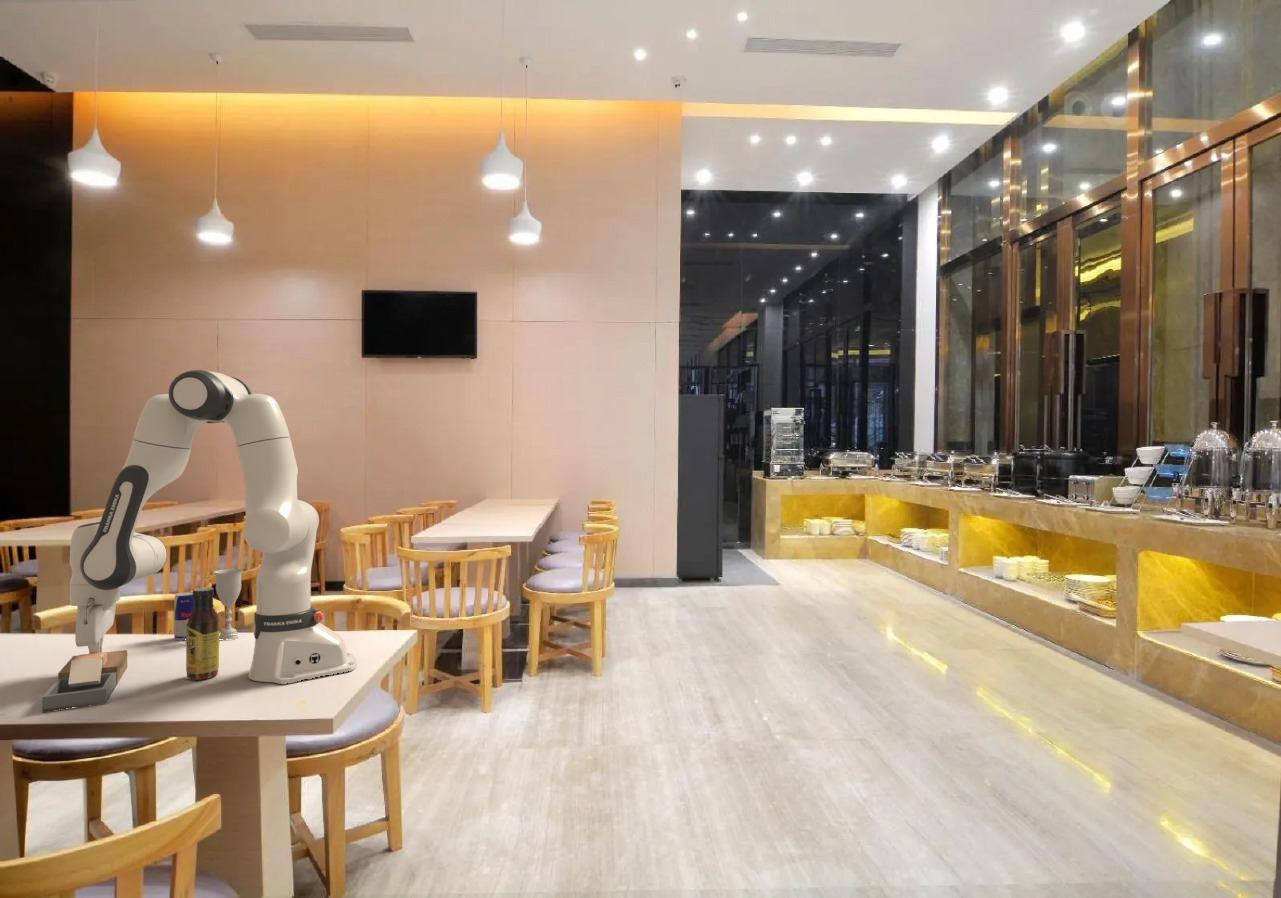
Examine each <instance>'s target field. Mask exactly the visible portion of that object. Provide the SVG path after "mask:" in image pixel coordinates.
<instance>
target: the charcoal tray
mask: <svg viewBox="0 0 1281 898" xmlns="http://www.w3.org/2000/svg"><path fill="white" fill-rule="evenodd" d="M68 682H69V678H64V679H58V678H57V679H56V680H55V682H53V684H52V685H51V686H50V687H49V688H48V689H47V691H46V692H45V693H44V694H43V695H42V697H41V712H42V711H50V712H55V711H54V710H58V711H62V710H61V709H65V710H67V709H66V708H72V707H79V708H85V707H84V706H86V707H90V706H89V705H93V706H98V705H97V704H101V705H106V704H107V703H108V701H109V699H110V698H111V697H112V694H113V692H114V691H115V689H116V687H117V685H116V672H113V673H105V674H101V679H100V684H94V685H86V686H78V687H70V686H69V685H68ZM105 703H106V704H105ZM59 709H60V710H59ZM72 709H73V708H72Z"/></svg>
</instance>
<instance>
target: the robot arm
mask: <svg viewBox="0 0 1281 898" xmlns="http://www.w3.org/2000/svg"><path fill="white" fill-rule="evenodd" d="M285 419H286V418H285V416H284V413H283V412H282V410H281V407H280V405H279V402H277V400H276V399H275V398H274V397H273V396H271V395H269V394H268V395H267V394H264V393H252V391H251V389H250V387H248V385H247V384H246V383H244V381H242V380H241V379H239V378H237V377H234V376H228V375H226V374H223V373H222V372H217V371H210V370H209V371H207V370H203V369H194V370H189V371H188V370H187V371H185V372H183V373H181V374H178V375H177V376H176V377H175V378H174V379H173V380H172V381H171V383H170V385H169V388H168V393H161V394H156V395H154V396H152V397H150V398H149V399H148V400H147V401H146V402H145V405H144V406H143V408H142V411H141V413H140V416H139V418H138V421H137V424H136V427H135V429H134V433H133V437H132V441H131V445H130V448H129V452H128V455H127V457H126V460H125V463H124V465H123V466H122V468H121V470H120V472H119V473H118V476H117V477H116V479H115V481H114V483H113V486H112V488H111V490H110V492H109V493H110V494H109V495H108V499H107V502H106V505H105V508H104V511H103V513H102V516H101V519H100V521H97V522H91V523H85V524H81V525H79V526H77V527H76V528H75V529H74V530H73V532H72V535H71V539H70V545H69V565H70V568H71V578H70V581H69V605H70V606H72V607H76V610H77V613H76V617H75V634H74V635H75V638H74V641H75V646H76V647H77V648H78V647H79V648H80V647H87V649H88V652H89V653H88V654H92V653H101V652H103V643H104V639H105V638H104V637H105V636H104V635H106V633H108V631H109V630H110V629H111V628H112V626H113V625H114V622H115V616H116V609H117V607H116V606H117V602H119V601H120V600H121V587H122V586H124V585H127V584H129V583H133V582H136V581H140V580H142V579H144V578H148V577H150V576H153V575H155V574H156V573H159V572H160V571H161V570H162V569H163V568H164V567H165V565H166V563H167V561H168V552H167V551H168V550H167V548H166V546H165V544H164V542H163V541H162V540H161V539H159V538H158V537H156V536H152V535H147V534H143V533H139V532H136V531H135V530H136V528H137V526H138V523H139V519H140V517H141V514H142V511H143V508H144V506H145V504H146V503H147V501H148V500H149V499H150V498H151V497H152V496H153V495H154V494H155V493H156V492H158V491H159V490H161V489H162V488H164V487H166V486H167V485H169V484H171V483H173V482H174V481H176V480H178V479H179V478H180V477H181V476H182V475H183V473H184V471H185V469H186V467H187V465H188V462H189V460H190V455H191V452H192V451H191V450H192V446H193V442H194V437H195V433H196V431H197V429H198V428H199V427H200V426H201V425H202V424H204V423H207V424H218V423H226V424H227V425H228V426H229V428H230V429H231V430H232V431H231V432H232V434H233V438H234V442H235V445H236V451H237V455H238V459H239V464H240V468H241V472H242V476H243V481H244V494H245V495H244V500H245V502H244V503H245V504H244V506H245V520H244V524H243V527H242V530H243V531H242V535H243V539H244V540H245V542H246V544H247V545H248V546H249V547H250V548H251V549H252V550H255V551H257V552H259V553H262V559H261V563H260V567H259V570H258V573H257V575H256V579H255V580H256V584H255V585H256V586H255V587H256V603H255V605H256V609H255V610H256V611H255V613H254V614H253V637H254V639H255V640H254V641H255V642H254V649H253V656H252V661H251V666H250V669H249V672H248V675H247V677H248V679H249V680H252V681H256V682H261V683H262V682H263V683H275V684H277V685H287V683H288V684H291V683H298V682H301V680H303V679H308V680H311V679H312V678H313V679H316V678H315V677H318V678H321V677H320V676H323V677H326V676H325V675H329V676H333V674H334V675H337V673H339V674H343V672H344V673H348V671H349V672H351V671H354V670H355V669H356V668H357V665H358V663H357V658H356V656H355V655H354V654H351V653H348V652H347V647H346V642H345V641H344V639H343V637H342V636H341V635H340V634H339V633H337V632H335V631H334V630H332V629H331V628H329V627H327V626H325V625H324V624H323V623H321V622H322V621H323V619H324V614H323V612H322V611H320V610H319V609H317V608H315V607H312V606H311V582H312V581H311V580H312V579H311V578H312V577H311V576H312V567H313V560H314V554H315V549H316V548H315V547H316V540H317V539H316V538H317V531H318V528H319V524H320V517H319V513H318V511H317V510H316V508H315V507H314V506H313V505H311V504H310V503H308V502H307V501H303V500H300V499H298V486H297V485H298V479H297V478H298V474H299V469H298V465H297V460H296V456H295V451H294V448H293V443H292V439H291V435H290V432H289V429H288V428H289V427H288V424H287V422H286V420H285ZM355 667H356V668H355ZM297 681H298V682H297ZM303 681H304V680H303Z"/></svg>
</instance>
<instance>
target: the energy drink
mask: <svg viewBox="0 0 1281 898" xmlns="http://www.w3.org/2000/svg"><path fill="white" fill-rule="evenodd" d="M173 601H174V605H173V606H174V607H173V608H174V613H173V615H174V616H173V617H174V618H173V621H174V624H173V625H174V627H173V630H174V632H173V633H174V635H173V636H174V640H175V641H177V640H185V639H187V623H188V621H189V618H190V616H191V613H192V610H193V606H194V597H193V591H185V592H178V593H175V596H174V599H173ZM185 641H186V640H185Z"/></svg>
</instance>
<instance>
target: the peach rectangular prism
mask: <svg viewBox="0 0 1281 898" xmlns="http://www.w3.org/2000/svg"><path fill="white" fill-rule="evenodd" d="M107 652H108V651H102V652H101V653H92V654H89V653H84V654H79V656H78V657H77V658H76V659H75V660H82V659H91V658H100V657H101V658H102V660H103V662H102V667H103V666H104V665H105V664H106V662H107Z"/></svg>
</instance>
